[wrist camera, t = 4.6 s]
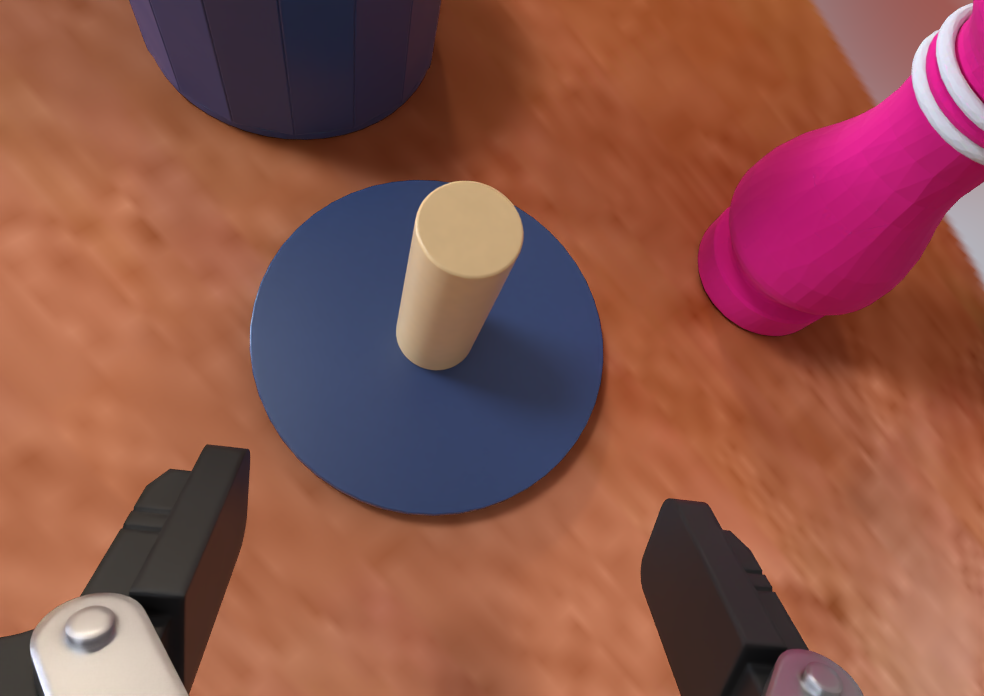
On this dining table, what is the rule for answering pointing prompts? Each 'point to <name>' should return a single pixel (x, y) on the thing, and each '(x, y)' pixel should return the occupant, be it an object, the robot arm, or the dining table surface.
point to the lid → (426, 347)
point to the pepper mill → (853, 195)
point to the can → (292, 59)
